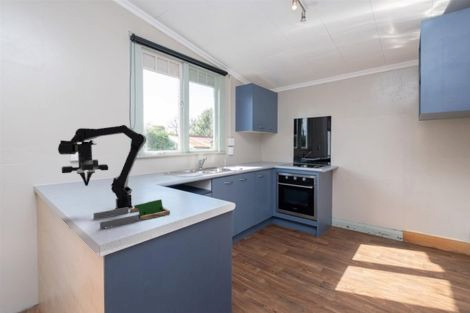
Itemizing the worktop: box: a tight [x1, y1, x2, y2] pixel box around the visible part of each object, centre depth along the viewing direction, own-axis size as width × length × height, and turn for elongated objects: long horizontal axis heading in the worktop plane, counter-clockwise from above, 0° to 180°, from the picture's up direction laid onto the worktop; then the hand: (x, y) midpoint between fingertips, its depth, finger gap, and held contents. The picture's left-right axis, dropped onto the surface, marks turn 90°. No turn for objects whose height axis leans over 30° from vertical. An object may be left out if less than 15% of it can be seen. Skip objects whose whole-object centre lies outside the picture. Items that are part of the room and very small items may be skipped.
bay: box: [129, 207, 171, 221], centre depth 106 cm, size 13×16×2 cm
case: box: [92, 207, 140, 229], centre depth 96 cm, size 14×16×2 cm
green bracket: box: [133, 199, 163, 217], centre depth 105 cm, size 12×6×9 cm, turn 140°
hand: (86, 185), depth 111 cm, fingers closed
